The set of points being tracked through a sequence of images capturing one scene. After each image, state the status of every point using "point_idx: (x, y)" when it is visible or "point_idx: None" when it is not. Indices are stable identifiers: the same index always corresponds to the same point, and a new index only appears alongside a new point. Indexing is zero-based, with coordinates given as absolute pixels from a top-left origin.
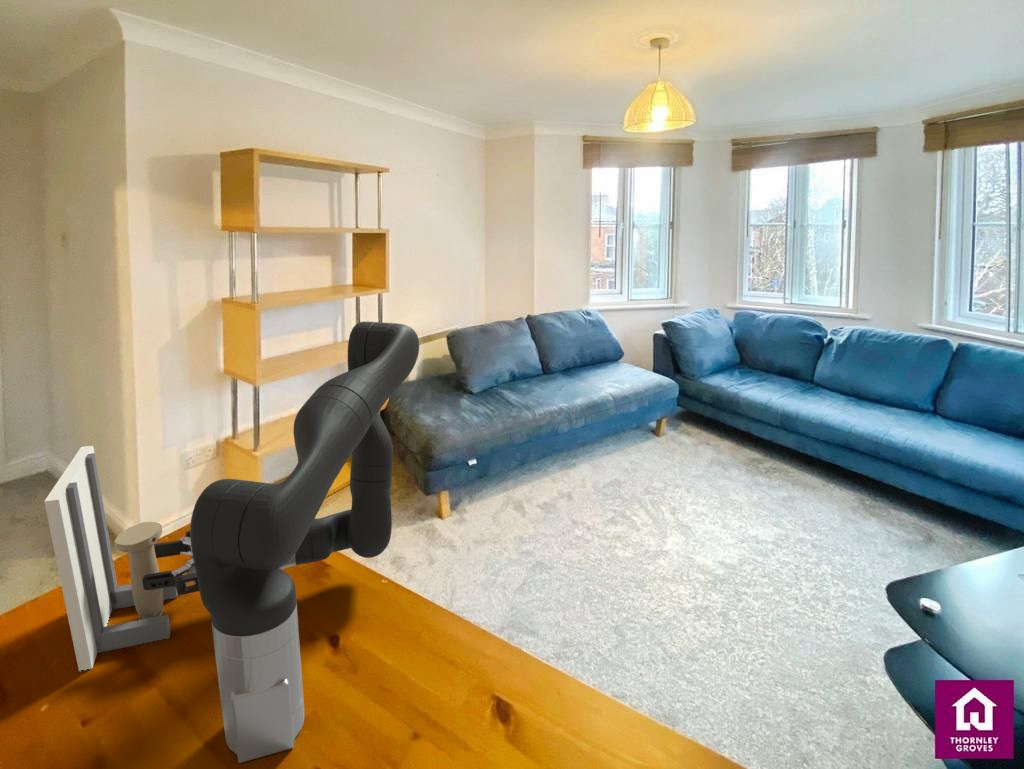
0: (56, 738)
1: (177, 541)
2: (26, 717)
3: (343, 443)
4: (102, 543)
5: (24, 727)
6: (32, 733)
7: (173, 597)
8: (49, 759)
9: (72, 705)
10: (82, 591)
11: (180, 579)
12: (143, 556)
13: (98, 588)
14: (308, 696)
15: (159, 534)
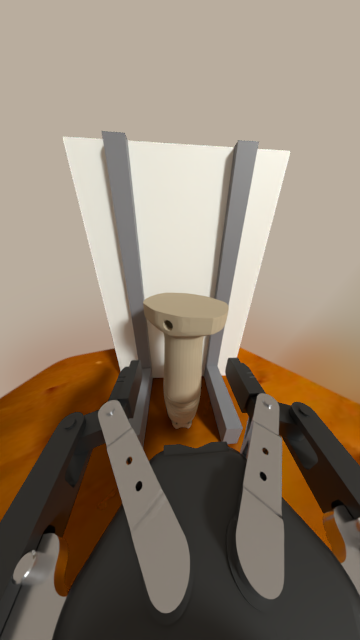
0: (53, 375)
1: (253, 391)
2: (96, 356)
3: None
4: None
5: (87, 358)
6: (76, 362)
7: (220, 437)
8: (33, 376)
9: (84, 376)
10: (123, 316)
11: (61, 426)
12: (165, 340)
13: None
14: None
15: (188, 328)
